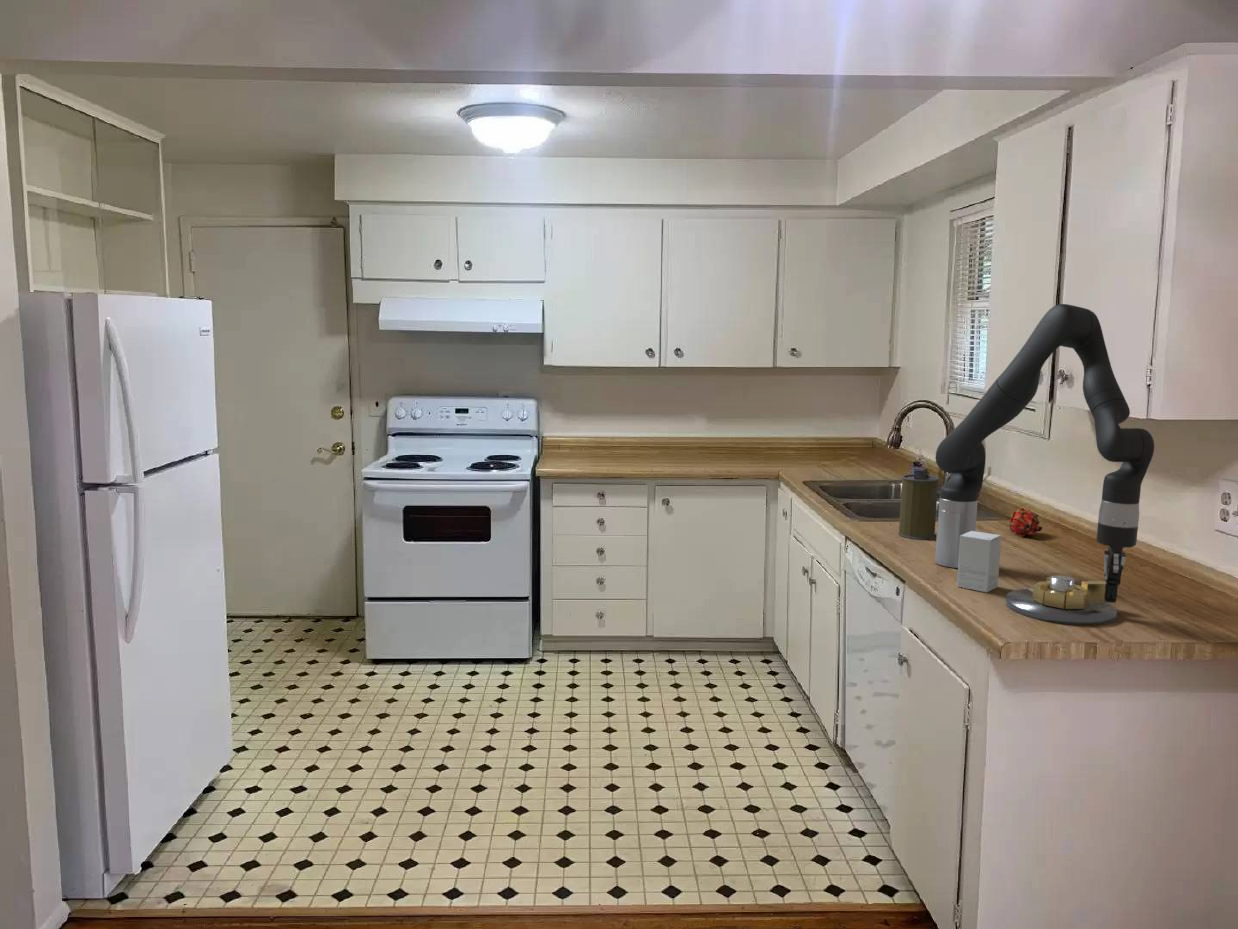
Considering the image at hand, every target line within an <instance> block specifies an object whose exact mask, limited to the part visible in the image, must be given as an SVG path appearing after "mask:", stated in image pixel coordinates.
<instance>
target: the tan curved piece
mask: <svg viewBox="0 0 1238 929" xmlns="http://www.w3.org/2000/svg"><path fill="white" fill-rule="evenodd" d="M1050 577H1051V576H1047V577H1045V581H1038V582H1036V583H1035V584H1033V586H1032V588H1033V596H1032V599H1033V600H1035V601H1037V602H1039V603H1041V604H1044V605H1047V606H1052V607H1057V608H1063V609H1064V608H1065V609H1083V608H1086V607H1087V606H1088V605H1089V603H1102V602H1106V601H1105V599H1104V595H1105V585H1106V583H1105V580H1089V581H1088V580H1087V581H1086V580H1084V581H1083V580H1082V581H1081V585H1079V584H1075V583H1074V588H1068V593H1063V592H1058V591H1052V590H1049V588H1050Z"/></svg>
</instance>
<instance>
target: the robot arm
mask: <svg viewBox="0 0 1238 929" xmlns="http://www.w3.org/2000/svg"><path fill="white" fill-rule="evenodd" d="M1026 340H1027V341H1025V343H1024V344H1023V346H1022V347H1021V349H1020V350H1019V352H1018V353H1017V354H1016V355H1015V356H1014V357H1013V359H1012V360H1011V362H1010V363H1009V364H1008V365H1007V367H1006V368H1005V369H1004V370H1003V371H1002V373H1001V374H1000V375H999V376H998V377H997V378H996V379H995V380H994V382H993V383H992V384H991V386H990V387H989V388H988V389H987V391H986V392H985V393H984V395H983V396H981V399H980V400H979V401H978V402H977V403H976V404H975V405H974V407H973V408H972V409H971V410H970V412H969V413H968V414H967V415H966V416H965V417H964V419H963V420H961V422H960V423H959V424H958V425H957V426H956V427H954V428H953V430H951V432H950V433H949V434H948V435H946V436H945V437H944V438H943V439H942V440H941V442H940V443H939V444H938V446H937V448H936V451H935V462H936V465H937V468H939V469H940V470H941V471H943V472H944V473H948V474H951V476H950V477H949V479H948V480H947V482H945V483H944V484H943V485H942V486H941V487H940V488H939V498H938V499H939V500H938V501H939V503H938V513H937V514H938V517H937V527H936V528H937V529H936V538H935V539H936V541H935V553H934V555H935V556H934V560H935V561H934V562H935V564H937V565H939V566H942V567H949V568H953V569H954V568H955V569H958V562H959V547H960V535H963V534H965V533H967V532H970V531H976V530H977V529H976V528H977V513H978V501H979V500H978V499H979V494H980V492H981V491H982V487H983V483H984V475H985V468H986V449H985V446H984V443H983V441H984V440H985V439H986V438H988V437H990V435H991V434H993V433H995V432H997V431H998V430H1000V429H1001V428H1002V427H1004V426H1005V425H1007V424H1009V423H1010V422H1012V421H1013V420H1014V419H1016V417H1018V415H1020V414H1021V413H1022V411H1023V410H1024V409H1025V408H1026V407H1027V406H1028V405H1029V403H1030V402H1031V401H1032V400H1033V398H1034V397H1035V395H1036V394H1037V391H1038V388H1039V385H1040V384H1039V383H1040V377H1041V372H1042V368H1043V366H1044V364H1045V363H1046V362H1047V360H1048V359H1049V358H1050V357H1051V355H1052V354H1053V353H1054V352H1055V351H1056V350H1057V349H1058V348H1060V347H1064V348H1070V349H1072V350H1074V352H1075V353H1076V355H1077V356H1078V357H1079V360H1080V361H1081V364H1082V366H1083V367H1082V368H1083V378H1082V392H1083V397H1084V399H1085V402H1086V404H1087V406H1088V409H1089V412H1090V413H1091V415H1092V418H1093V420H1094V429H1095V430H1094V431H1095V439H1096V440H1095V441H1096V447H1097V451H1098V452H1099V455H1101V456H1102V457H1103V458H1104V459H1105V460H1106V461H1108V462H1111V463H1121V465H1120V467H1119V469H1117V470H1116V471H1112V472H1109V473H1107V474H1105V476H1104V478H1103V485H1102V493H1101V501H1100V502H1101V503H1100V506H1099V510H1098V517H1097V518H1098V520H1097V529H1096V530H1097V531H1096V538H1095V539H1096V542H1097V543H1099V544H1100V545H1103V546H1108V547H1107V550H1103V558H1104V561H1103V562H1104V564H1103V571H1104V581H1105V583H1106V585H1105V595H1104V599H1105V601H1106V602H1108V603H1111V604H1112V603H1113V604H1115V603H1116V602H1117V596H1118V587H1119V586H1120V584H1121V579H1122V577H1123V575H1124V574H1123V573H1124V566H1125V563H1126V558H1127V555H1126V551H1125V552H1123V549H1124V548H1133V547H1135V546H1137V541H1138V540H1137V539H1138V531H1139V521H1140V520H1139V519H1140V499H1141V488H1142V483H1143V480H1144V479H1145V477H1146V474H1147V471H1148V469H1149V467H1150V464H1151V461H1152V459H1153V456H1154V452H1155V442H1154V438H1153V436H1152V434H1151V433H1150V432H1149V430H1147V429H1144V428H1140V427H1139V428H1138V427H1137V428H1136V427H1134V428H1133V427H1131V428H1130V427H1129V428H1127V427H1125V428H1121V426H1120V424H1122V423H1124V422H1125V421H1126V420H1127V419H1128V418H1129V417H1130V415H1131V411H1130V407H1129V405H1128V403H1127V400H1126V399H1125V396H1124V394H1123V392H1122V389H1121V387H1120V386H1119V383H1118V381H1117V378H1116V377H1115V374H1114V371H1113V368H1112V364H1111V361H1110V357H1109V353H1108V349H1107V345H1106V343H1105V338H1104V334H1103V330H1102V326H1101V322H1100V319H1099V318H1098V316H1097V314H1096V313H1095V312H1093V311H1092V310H1090V309H1088V308H1086V307H1082V306H1076V305H1074V304H1073V305H1072V304H1067V303H1059V304H1056V305H1054V306H1053V307H1051V308H1050V309H1048V311H1047V312H1046V313H1045V314H1044V315H1043V317H1042V318H1041V319H1040V320H1039V322H1038V323H1037V325H1036V327H1034V330H1033V331H1032V332H1031V334H1030V336H1029V337H1028V339H1026Z"/></svg>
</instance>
